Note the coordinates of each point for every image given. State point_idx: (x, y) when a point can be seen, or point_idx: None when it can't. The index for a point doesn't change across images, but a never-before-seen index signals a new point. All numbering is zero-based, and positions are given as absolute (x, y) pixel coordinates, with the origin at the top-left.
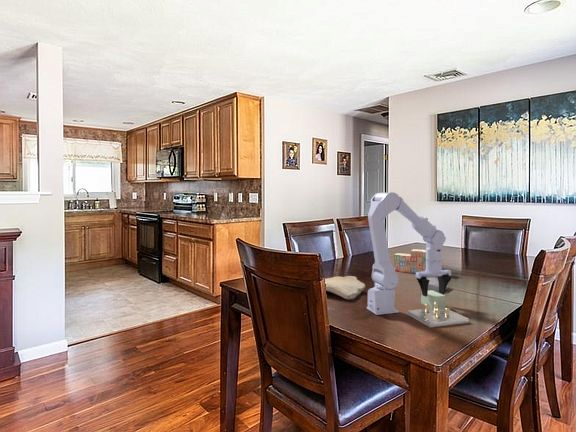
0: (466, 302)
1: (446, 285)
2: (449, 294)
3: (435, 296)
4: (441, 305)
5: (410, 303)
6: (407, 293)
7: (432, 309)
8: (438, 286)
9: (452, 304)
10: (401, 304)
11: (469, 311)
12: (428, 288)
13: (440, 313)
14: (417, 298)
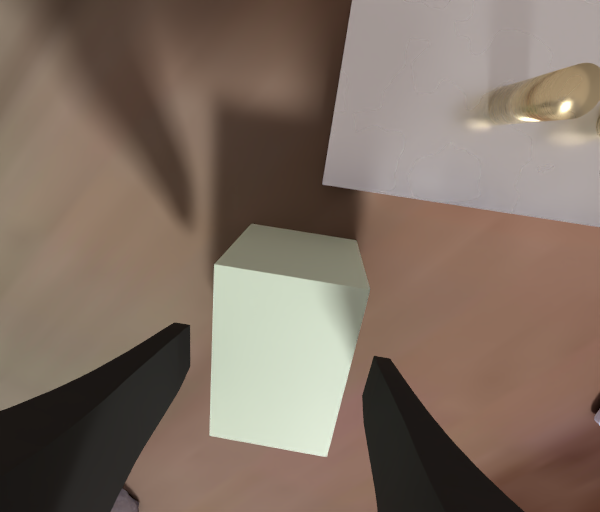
0: (11, 251)
1: (82, 383)
2: None
3: (346, 291)
4: (282, 237)
5: None
6: (259, 504)
7: (481, 167)
8: None
9: (138, 262)
10: (468, 407)
11: (117, 63)
12: None
13: (540, 13)
14: None
